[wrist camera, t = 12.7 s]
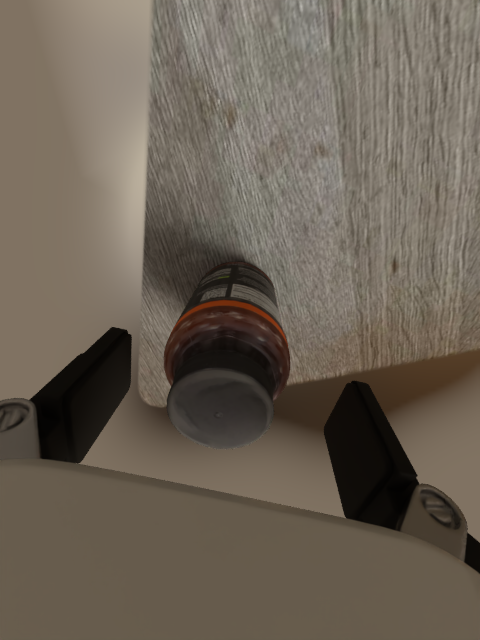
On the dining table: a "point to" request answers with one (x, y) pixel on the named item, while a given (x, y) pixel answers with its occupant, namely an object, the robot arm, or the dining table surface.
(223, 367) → the supplement bottle
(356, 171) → the dining table surface
